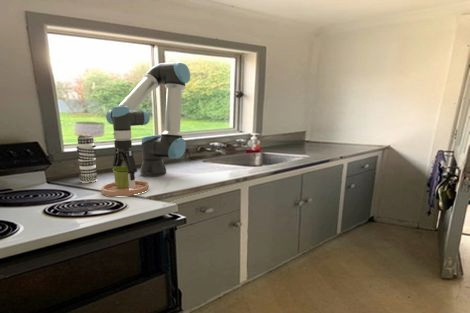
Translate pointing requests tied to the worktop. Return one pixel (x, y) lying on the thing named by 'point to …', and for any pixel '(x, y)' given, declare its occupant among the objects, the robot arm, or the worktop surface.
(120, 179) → the plant pot
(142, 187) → the saucer
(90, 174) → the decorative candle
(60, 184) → the worktop surface
